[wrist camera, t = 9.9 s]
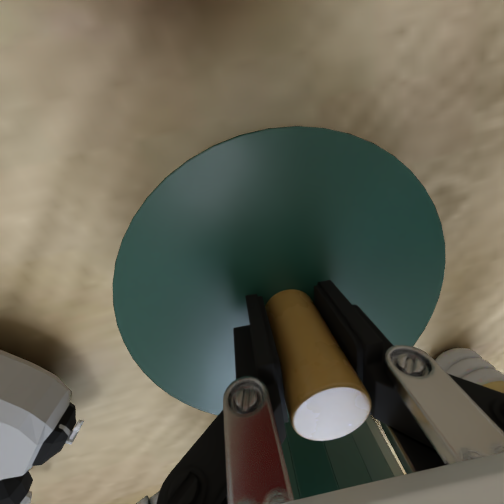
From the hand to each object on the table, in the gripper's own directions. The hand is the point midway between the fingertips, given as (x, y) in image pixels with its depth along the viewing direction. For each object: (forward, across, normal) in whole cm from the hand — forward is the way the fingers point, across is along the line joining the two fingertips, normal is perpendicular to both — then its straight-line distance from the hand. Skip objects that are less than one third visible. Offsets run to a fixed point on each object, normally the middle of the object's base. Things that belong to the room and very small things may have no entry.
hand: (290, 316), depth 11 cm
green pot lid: (+1, 0, 0) cm, 1 cm away
